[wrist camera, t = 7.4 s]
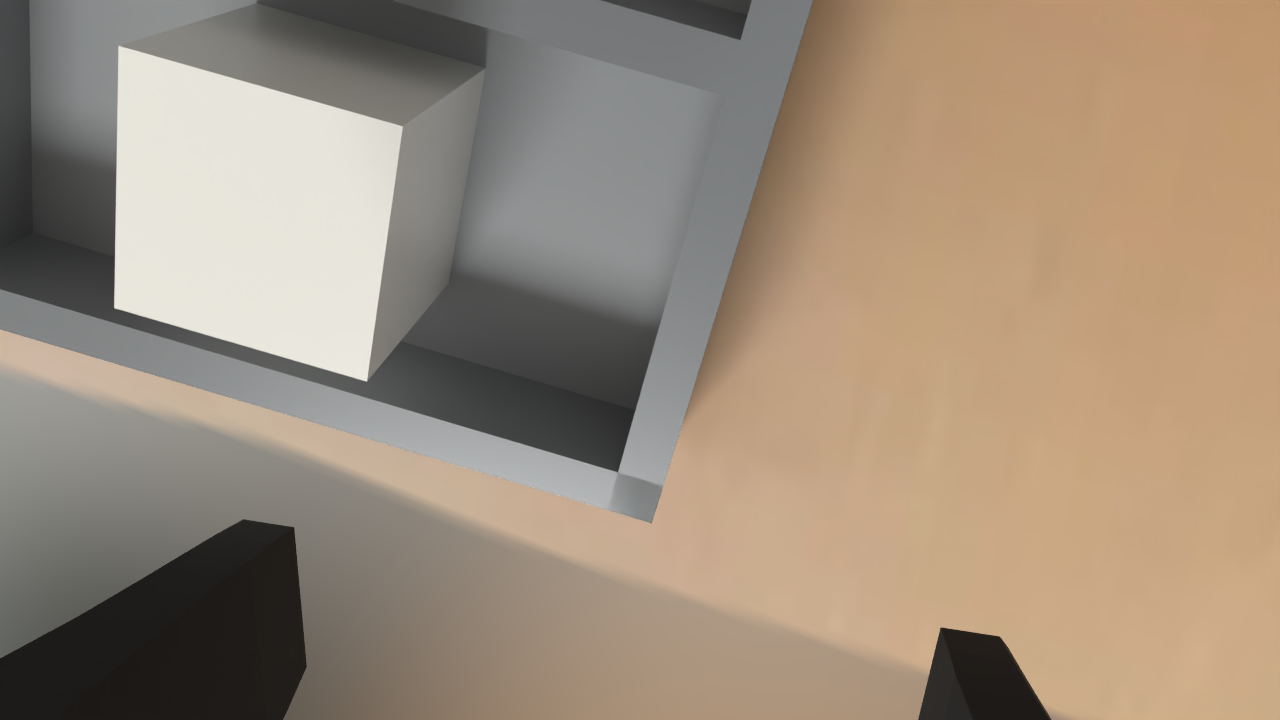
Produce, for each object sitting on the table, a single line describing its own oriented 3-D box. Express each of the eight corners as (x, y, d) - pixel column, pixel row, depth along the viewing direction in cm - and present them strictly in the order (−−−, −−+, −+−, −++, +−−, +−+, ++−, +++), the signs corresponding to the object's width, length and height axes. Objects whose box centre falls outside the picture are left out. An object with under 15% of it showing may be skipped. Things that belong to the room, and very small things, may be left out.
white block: (486, 67, 18) (402, 126, 15) (449, 282, 20) (367, 381, 16) (256, 2, 18) (118, 45, 15) (240, 223, 20) (113, 307, 17)
